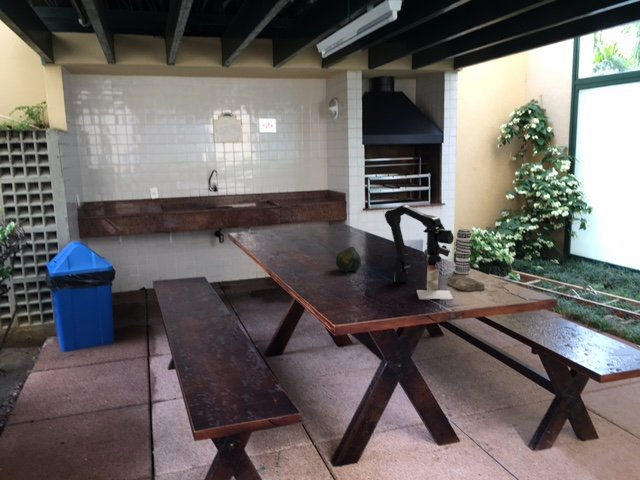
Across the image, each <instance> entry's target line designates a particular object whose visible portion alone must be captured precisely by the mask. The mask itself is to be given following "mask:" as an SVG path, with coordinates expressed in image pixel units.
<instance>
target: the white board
mask: <svg viewBox="0 0 640 480" xmlns="http://www.w3.org/2000/svg"><path fill="white" fill-rule="evenodd" d="M416 293H417V297H418V299H419V300H430V299H440V301H441V300H442V301H443V300H444V301H448V300H449V301H454V297H453V295H452V293H451V291H450V290H440V289H438V290H427V289H416Z"/></svg>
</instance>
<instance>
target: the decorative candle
mask: <svg viewBox="0 0 640 480" xmlns="http://www.w3.org/2000/svg"><path fill="white" fill-rule="evenodd" d="M471 236H472V231H470V229H469V228H459V229H458V230H457V231H456V239H455V242H454V243H455V253H456V255H455V256H456V257H455V260H454V261H455V263H454V264H455V266H454V272H455V273H456V274H458V275H459V274H460V275H468V274H470V273H471V253H472V252H471V250H472V248H471V247H473V246H472V245H471V244H473V242H472V241H473V239H472V237H471Z"/></svg>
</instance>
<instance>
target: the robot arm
mask: <svg viewBox="0 0 640 480" xmlns="http://www.w3.org/2000/svg"><path fill="white" fill-rule="evenodd" d="M403 215H406V216H408V217H410V218H413V219H414V220H417V221H419V222H420V223H421V224H422V225H423V226H424V227H425V229H424V230H423V233H426V235H427V236H426V248H425V250H424V252H423V254H424V256H426V255H427V256H426V257H425V259H426V262H427V264H428V265H436V264H437V263H438V262H439V263H441V262H442V257H441V256H440V255H443V256H445V257H449V255H450V249H449V248H447V246H446V245H452V244H453V242H454V240H455V239H454V238H455V237H454V233H452V232H453V231H452V230H451V229H446V228H445V227H444V224H443V223H442V221H441V218H440V217H438V216H436V215H430V214H426V213H424V212H422V211H419V210H417V209H415V208H413V207H411V206H409V205H408V204H403V205H400V206H398V207H396V208H393V209H389V210H386V211H385V213H384V219H385V220H386V224H387V225H388V226H389V227H390V230H391V234H392V238H393V241H394V243H393V244H394V246H395V251H396V256H395V263H394V264H393V265H392V267H391V270H392V272H394V279H393V280H394V284H407V283H408V280H409V279H408V278H409V277H408V276H409V275H408V274H409V273H408V271H409V269H410V268H411V266H412V264H413V262H412V261H413V258H412V254H411V253H408V251H406V250H407V249H406V246H405V241H404V238H403V233H402V229H401V221H402V217H403ZM439 243H440V244H446V245H442V246H441V245H440V244H439ZM428 265H427V266H428Z"/></svg>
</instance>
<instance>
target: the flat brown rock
mask: <svg viewBox="0 0 640 480" xmlns="http://www.w3.org/2000/svg"><path fill="white" fill-rule="evenodd" d="M447 283H448V285H449V286H451V287H452V288H454V289H458V290H461V291H465V292H466V291H467V292H472V291H471V290H475V291H481V290H482V289H483V290H485V287H486V286H485V283H484V282H481V281H478V280H477V279H474V278H471V277H468V276H467V277H466V276H464V275H462V274H460V275H459V274H458V275H456V274H455V275H453V276H449V277H448V279H447ZM483 290H482V291H483Z"/></svg>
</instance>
